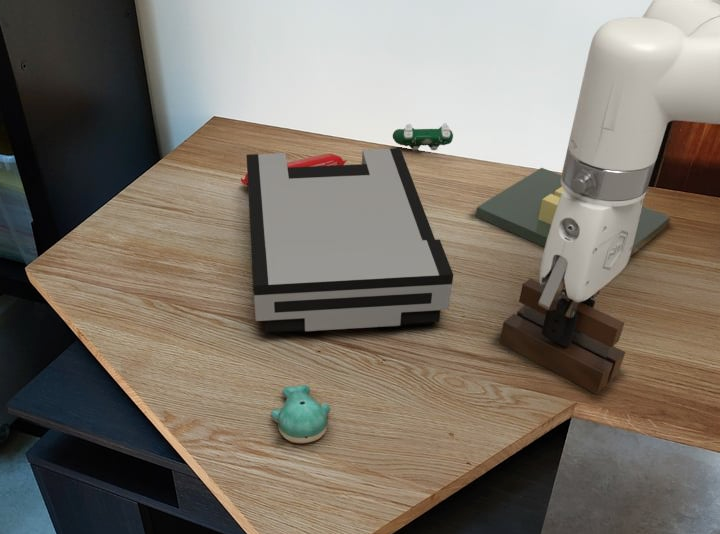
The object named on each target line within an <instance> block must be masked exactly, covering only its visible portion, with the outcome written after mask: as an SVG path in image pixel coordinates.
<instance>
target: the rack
mask: <svg viewBox="0 0 720 534" xmlns="http://www.w3.org/2000/svg"><path fill="white" fill-rule="evenodd" d="M524 307H525V305H523V306H522V307H520V308H519V309H518V310H517V311H516V314H515V313H513V314H511V315H510V316H509V317H508V318H506V319H505V320H503V322H502V326H501V327H502V328H501V332H500V337H499V342H498V343H499V344H500V345H503V346H504V347H506V348H508V349H510V350H512V351H513V352H515V353H517V354H519V355H521V356H523V357H524V358H527V359H528V360H530V361H532V362H534V363H535V364H538V365H540V366H541V367H544V368H545V369H547V370H549V371H550V372H553V373H554V374H557V375H559V376H561V377H562V378H564V379H566V380H568V381H570V382H572V383H573V384H575V385H577V386H579V387H581V388H583V389H585V390H586V391H589V392H590V393H592V394H594V395H597V394H598V393H600V392H602V391H601V390H603V389H604V388H605V387H606V386H607V383H610V382H611V381H612V380H613V379H615V377H616V376H617V375H618V374H619V372H620V369H621V366H622V365H623V361H624V358H625V355H626V351H625V350H622V349H620V348H619V347H616V346H615V345H614V346H613V347H612V348H611V347H610V348H609V351H608V354H607V357H606V360H604V359H602V358H600V357H598V356H596V355H594V354H592V353H591V352H589V351H587V350H585V349H583V348H581V347H579V346H577V345H575V344H573V343H571V344H570V345H569V346H568V347H564V346H562V345H560V344H558V343H556V342H554V341H552V340H550V339H548V338H546V337H544V336H543V335H542V329H543V328H541V327H539V326H537V325H535V324H533V323H531V322H529V321H527V320H525V319H523V318H522V316H523V312H524Z"/></svg>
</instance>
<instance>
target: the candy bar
mask: <svg viewBox="0 0 720 534" xmlns="http://www.w3.org/2000/svg"><path fill="white" fill-rule="evenodd" d="M347 161H348V159H345V160H343V158H342V157H341V156H340V155H336V154H335V153H325V154H319V155H314V156H310V157H306V158H302V159H298V160H293V161H288V162H287V167H310V166H333V165H345V164H346V163H347ZM240 181H241V183H242V185H244V186H245V185H246V186H248V175H247V173H245V175H244V178H242V177H240Z"/></svg>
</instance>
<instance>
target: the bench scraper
mask: <svg viewBox="0 0 720 534" xmlns="http://www.w3.org/2000/svg"><path fill="white" fill-rule="evenodd" d="M544 288H545V286H541V284H540V282H539V281H537V280H535V279H533V278H529V279H527V280H526V281H524V282H523V283H522V285H521V289H520V293H519V299H518V303H520V304H522V305H523V306H525V307H524V312H523V316H522V318H523V319H525V320H527V321H529V322H531V323H533V324H535V325H537V326H539V327H541V328H543V324H544V320H545V316H546V312H547V309H545V308H543V307H541V306H539V305H538V302H539V300H540V298H541V295H542V293H543V291H544ZM560 297H562V298H564V299H566V300H567V301H568V302H569V300H570V298H568V296H567V295H565V293H563V292H561V293H560ZM576 314H577V315H579V316H578V320H577V324H576V327H575V331H574V335H573V338H572V342H571V343H573V344H575V345H577V346H579V347H581V348H583V349H585V350H587V351H589V352H591V353H592V354H594V355H596V356H598V357H600V358H602V359H604V360H606V357H607V354H608V351H609V348H610V347H611V348H612V347H613V346H614V347H615V345H616V344H617V343H618V342H619V341H620V339H621V337H622V336H621V335H622V334H623V333H622V332H623V329H624V326H625V322H624V321H622V320H620V319H618V318H616V317H614V316H611V315H609V314H607V313H606V312H603V311H601V310H598V309H597V308H595V307H594V308H592V307H590V306H588V305H586V304H584V303H582V302H579V303H578V307H577V310H576Z"/></svg>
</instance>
